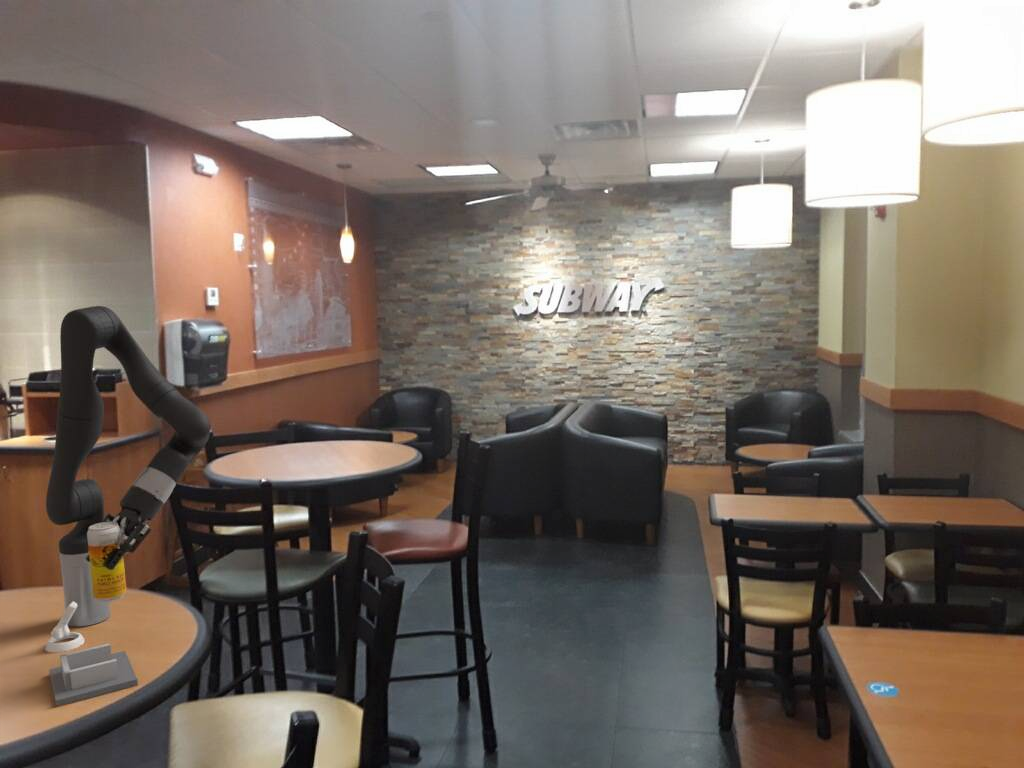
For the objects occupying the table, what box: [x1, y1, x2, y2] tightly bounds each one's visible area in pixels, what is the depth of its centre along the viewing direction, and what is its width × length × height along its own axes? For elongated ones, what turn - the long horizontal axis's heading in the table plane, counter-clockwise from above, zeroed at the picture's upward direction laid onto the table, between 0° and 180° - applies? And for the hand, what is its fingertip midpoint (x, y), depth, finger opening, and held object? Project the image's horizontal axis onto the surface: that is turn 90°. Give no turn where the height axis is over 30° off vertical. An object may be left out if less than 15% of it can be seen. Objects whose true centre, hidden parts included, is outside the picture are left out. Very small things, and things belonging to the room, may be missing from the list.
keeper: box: [48, 643, 139, 708], centre depth 163 cm, size 16×14×5 cm
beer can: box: [87, 522, 127, 602], centre depth 166 cm, size 6×6×15 cm
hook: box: [44, 601, 86, 653], centre depth 180 cm, size 8×12×7 cm
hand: (98, 564), depth 165 cm, fingers closed on beer can, 6 cm apart
